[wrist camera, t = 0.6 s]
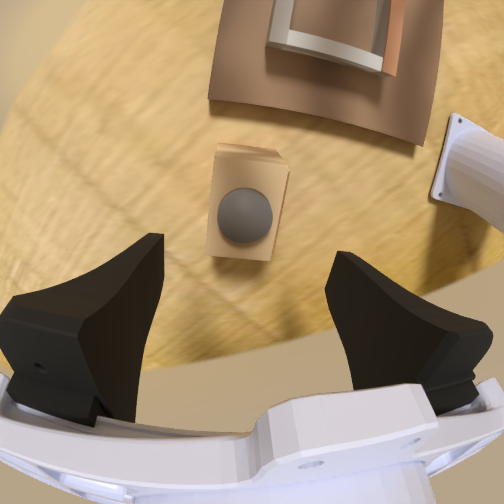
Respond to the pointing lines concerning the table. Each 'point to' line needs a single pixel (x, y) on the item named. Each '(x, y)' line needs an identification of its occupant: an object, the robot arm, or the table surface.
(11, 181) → the table surface
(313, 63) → the board
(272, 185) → the knob block
